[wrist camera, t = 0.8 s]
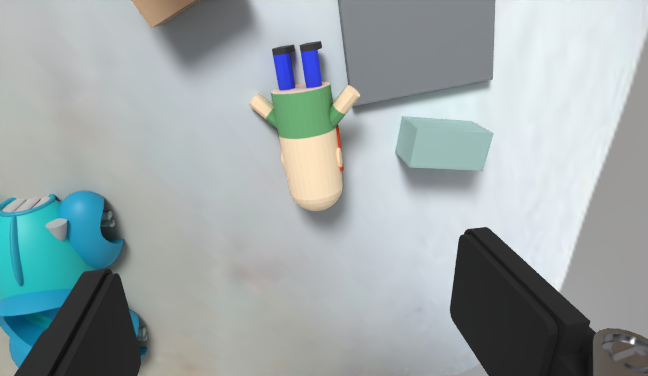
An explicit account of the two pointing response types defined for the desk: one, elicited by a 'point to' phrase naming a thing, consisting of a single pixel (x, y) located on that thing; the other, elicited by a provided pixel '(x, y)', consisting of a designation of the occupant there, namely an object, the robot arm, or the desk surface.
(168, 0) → the walnut brick
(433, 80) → the mat
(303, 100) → the toy figurine
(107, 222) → the toy car
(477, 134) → the teal brick
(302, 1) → the desk surface
